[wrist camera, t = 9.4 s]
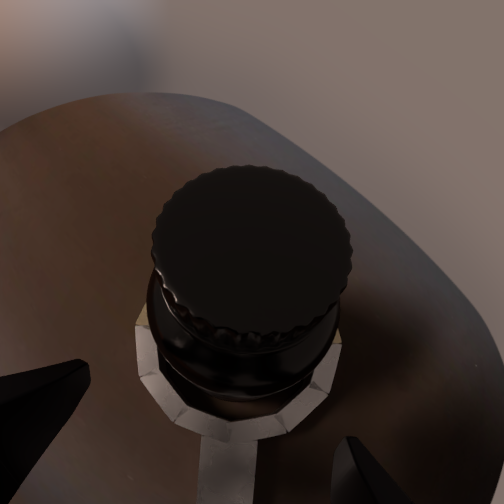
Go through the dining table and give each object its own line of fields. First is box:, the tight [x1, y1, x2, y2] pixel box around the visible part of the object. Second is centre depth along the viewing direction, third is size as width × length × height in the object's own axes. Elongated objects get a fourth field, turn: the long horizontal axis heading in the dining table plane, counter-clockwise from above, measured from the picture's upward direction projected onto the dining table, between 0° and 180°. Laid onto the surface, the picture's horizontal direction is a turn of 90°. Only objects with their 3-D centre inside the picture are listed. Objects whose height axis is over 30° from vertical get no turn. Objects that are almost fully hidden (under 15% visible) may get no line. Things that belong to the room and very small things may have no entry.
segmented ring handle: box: [135, 325, 342, 504], centre depth 11 cm, size 17×12×2 cm
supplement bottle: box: [146, 165, 353, 402], centre depth 11 cm, size 7×7×12 cm
